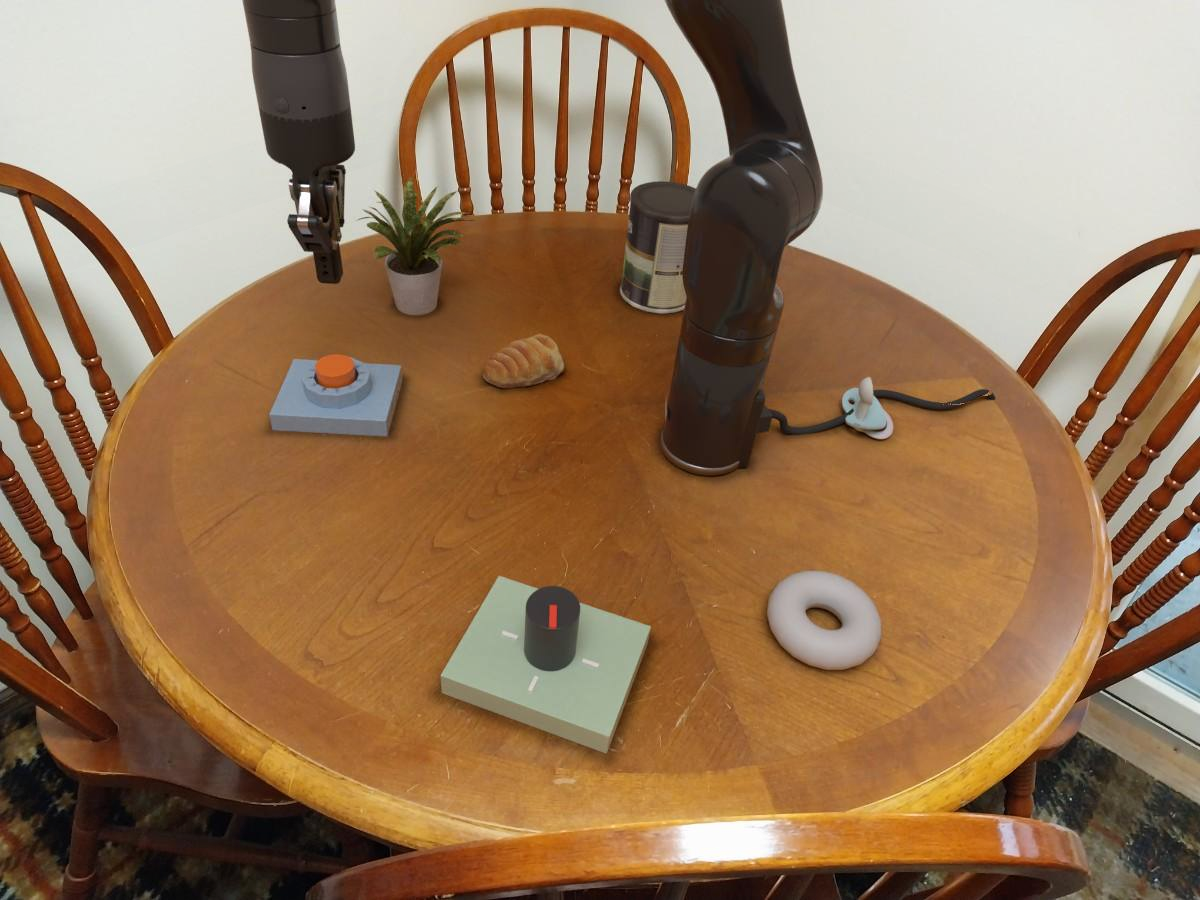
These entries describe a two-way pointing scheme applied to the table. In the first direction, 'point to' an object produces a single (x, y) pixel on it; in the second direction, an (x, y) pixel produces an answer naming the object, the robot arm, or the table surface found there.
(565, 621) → the program dial
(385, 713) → the table surface
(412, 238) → the house plant
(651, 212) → the coffee can
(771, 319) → the robot arm
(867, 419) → the pacifier
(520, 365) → the pastry
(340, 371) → the button
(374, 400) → the button block
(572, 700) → the dial panel
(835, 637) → the donut
